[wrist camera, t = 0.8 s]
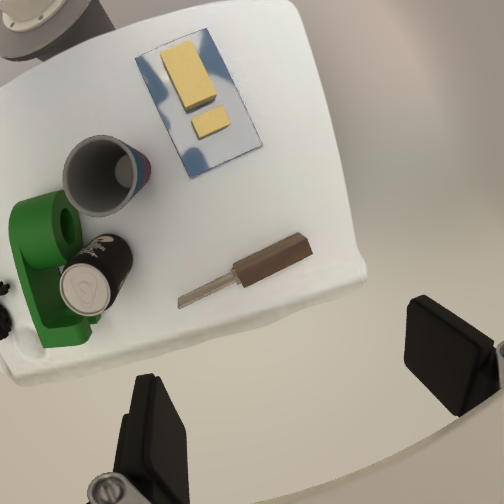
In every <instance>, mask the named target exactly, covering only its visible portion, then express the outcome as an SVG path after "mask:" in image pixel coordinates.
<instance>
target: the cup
mask: <svg viewBox="0 0 504 504" xmlns="http://www.w3.org/2000/svg"><path fill="white" fill-rule="evenodd" d="M150 174H151V166H150V162H149V160H148V159H147V158H146V156H145V155H143V154H142V153H140V152H138V151H137V150H135V149H134V148H132V147H130V146H129V145H127V144H125V143H124V142H122V141H120V140H118V139H116V138H114V137H111V136H106V135H97V136H93V137H89V138H87V139H85V140H83V141H82V142H80V143H79V144H78V145H77V146H76V147H75V148H74V149H73V150H72V151H71V153H70V154H69V156H68V157H67V160H66V162H65V165H64V169H63V187H64V191H65V194H66V196H67V198H68V200H69V201H70V203H71V204H72V205H73V206H74V207H75V208H76V209H77V210H78V211H80V212H81V213H83V214H85V215H88V216H92V217H104V216H109V215H111V214H114V213H116V212H117V211H119V210H120V209H122V208H123V207H124V206H125V205H126V204H127V203H128V202H129V201H130V200H131V199H132V197H133V196H134V195H135V194H136V193H137V192H138V191H139V190H140V189H141V188H142V187H143V186H144V185H145V184H146V183H147V181H148V179H149V177H150Z"/></svg>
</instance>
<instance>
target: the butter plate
mask: <svg viewBox="0 0 504 504" xmlns="http://www.w3.org/2000/svg"><path fill="white" fill-rule="evenodd" d="M188 40H191V41H192V43H193V45H194V47H195V49H196V51H197V53H198V55H199V57H200V59H201V61H202V63H203V65H204V67H205V69H206V72H207V74H208V76H209V78H210V80H211V82H212V84H213V86H214V88H215V90H216V92H217V95H216V98H215V99H213V100H211V101H209V102H206V103H204V104H202V105H199V106H197V107H195V108H193V109H190V110H188V111H185V108H184V106H183V104H182V102H181V100H180V98H179V96H178V94H177V91H176V89H175V87H174V85H173V83H172V81H171V79H170V77H169V74H168V72H167V70H166V68H165V66H164V64H163V62H162V59H161V56H160V52H162V51H164V50H167V49H169V48H171V47H174V46H176V45H178V44H181V43H183V42H186V41H188ZM135 60H136V62H137V65H138V67H139V69H140V71H141V73H142V76H143V78H144V80H145V82H146V84H147V87H148V89H149V91H150V93H151V95H152V97H153V100H154V102H155V104H156V106H157V108H158V110H159V113H160V115H161V117H162V119H163V121H164V123H165V126H166V128H167V130H168V132H169V134H170V136H171V138H172V140H173V143H174V145H175V147H176V149H177V151H178V153H179V155H180V157H181V159H182V161H183V164H184V166H185V168H186V170H187V172H188V174H189V176H190V178H193V177H195V176H197V175H199V174H201V173H203V172H205V171H207V170H209V169H211V168H213V167H216V166H218V165H220V164H222V163H224V162H226V161H229V160H231V159H233V158H235V157H237V156H240V155H242V154H244V153H246V152H249V151H251V150H253V149H255V148H258V147H260V146H262V142H261V140H260V138H259V136H258V133H257V131H256V129H255V127H254V125H253V122H252V120H251V118H250V116H249V114H248V112H247V109H246V107H245V105H244V103H243V101H242V99H241V97H240V95H239V92H238V90H237V88H236V86H235V84H234V82H233V80H232V78H231V76H230V74H229V72H228V70H227V68H226V66H225V64H224V62H223V60H222V58H221V56H220V54H219V52H218V50H217V48H216V46H215V44H214V42H213V40H212V38H211V36H210V34H209V32H208V30H207V28H205V29H202V30H200V31H197V32H194V33H192V34H189V35H187V36H184V37H182V38H179V39H177V40H174V41H172V42H169V43H167V44H165V45H163V46H160V47H158V48H156V49H154V50H151V51H149V52H147V53H145V54H143V55H141V56H139V57H137V58H135ZM221 105H223V107H224V109H225V111H226V113H227V116H228V118H229V120H230V122H231V124H230V125H229V126H228V127H226V128H223V129H221V130H219V131H217V132H214V133H212V134H210V135H208V136H206V137H203V138H201V139H199V138H198V136H197V134H196V132H195V130H194V128H193V126H192V123H191V118H194V117H196V116H198V115H200V114H202V113H205V112H207V111H209V110H211V109H214V108H216V107H218V106H221Z"/></svg>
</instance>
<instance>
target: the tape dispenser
mask: <svg viewBox="0 0 504 504" xmlns="http://www.w3.org/2000/svg"><path fill="white" fill-rule="evenodd" d="M9 239H10V245H11V249H12V253H13V257H14V261H15V265H16V269H17V273H18V276H19V280H20V283H21V286H22V290H23V293H24V296H25V299H26V302H27V305H28V308H29V311H30V314H31V317H32V320H33V323H34V325H35V328H36V331H37V333H38V336H39V338H40V341H41V343H42V346H43V348H54V347H65V346H76V345H81V344H83V343H85V342H87V341H88V339H89V337H90V336H91V334H92V330H91V327H90V324H97V323H98V321H99V319H100V318H101V315H100V314H97V315H94V316H83V315H80V314H78V313H76V312H74V311H73V310H71V309H70V308H69V307H68V306H67V305H66V303H65V302H64V300H63V298H62V296H61V292H60V279H61V278H60V274H59V270H58V266H62V265H66V264H67V263H68V262H69V261H70V260H71V259H72V258H73V257H74V256H75V255H76V254H78V253H79V252H80V251H81V245H82V235H81V225H80V219H79V215H78V211H77V209H76V208H75V207H74V206H73V205H72V204H71V203H70V201H69V200H68V198H67V196H66V194H65V191H64V190H59V191H55V192H52V193H48V194H44V195H41V196H37V197H34V198H30V199H27V200H23V201H20V202H18V203H17V204H15V206H14V207H13V209H12V211H11V214H10V218H9Z"/></svg>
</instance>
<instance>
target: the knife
mask: <svg viewBox="0 0 504 504" xmlns="http://www.w3.org/2000/svg"><path fill="white" fill-rule="evenodd" d="M312 254H313V253H312V250H311V247H310V245H309V242H308V240H307V238H306V237H304V236H303V235H301V234H300V233H299V232H298V233H296V234H294V235H292V236H290V237H288V238H286V239H284V240H282V241H280V242H278V243H275V244H273V245H271V246H269V247H267V248H265V249H263V250H261V251H259V252H257V253H255V254H253V255H251V256H249V257H247V258H245V259H243V260H241V261H239V262H237V263H235V264H233V266H234V269H232V270H231V272H232V273H230V274H228V275H225V276H223V277H221V278H219V279H217V280H215V281H213V282H211V283H209V284H207V285H205V286H203V287H201V288H199V289H197V290H195V291H192V292H190V293H188V294H186V295H184V296H182V297H180V298H178V309H181V308H183V307H185V306H187V305H189V304H191V303H193V302H195V301H197V300H200V299H202V298H204V297H206V296H208V295H210V294H212V293H214V292H216V291H218V290H220V289H222V288H224V287H227V286H229V285H231V284H233V283H235V282H236V283H237V285H239V284H241V283H242V285H243V287H244V288H245V287H248V286H250V285H252V284H254V283H256V282H258V281H260V280H262V279H264V278H266V277H268V276H270V275H272V274H274V273H276V272H278V271H280V270H282V269H284V268H286V267H288V266H290V265H292V264H294V263H296V262H298V261H300V260H302V259H304V258H306V257H308V256H310V255H312Z"/></svg>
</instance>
